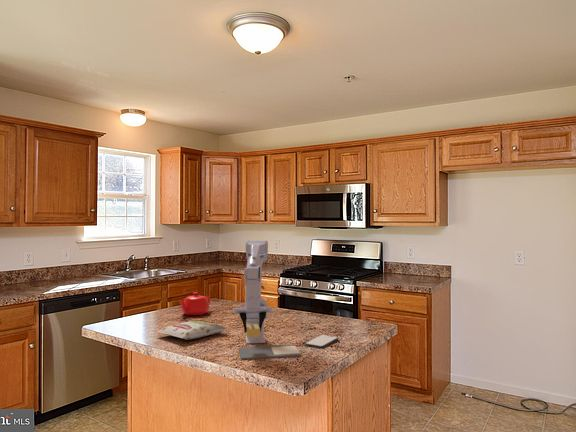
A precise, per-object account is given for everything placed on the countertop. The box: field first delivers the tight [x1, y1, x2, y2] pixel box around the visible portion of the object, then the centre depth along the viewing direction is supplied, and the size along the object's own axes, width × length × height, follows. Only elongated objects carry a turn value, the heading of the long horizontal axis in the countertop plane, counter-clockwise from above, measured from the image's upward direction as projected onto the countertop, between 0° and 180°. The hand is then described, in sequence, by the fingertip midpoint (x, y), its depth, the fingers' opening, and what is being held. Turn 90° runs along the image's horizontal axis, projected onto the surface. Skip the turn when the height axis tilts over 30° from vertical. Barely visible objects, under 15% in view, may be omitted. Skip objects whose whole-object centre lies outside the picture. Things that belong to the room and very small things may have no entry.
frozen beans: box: [156, 320, 229, 341], centre depth 192 cm, size 21×6×25 cm
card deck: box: [245, 324, 260, 337], centre depth 165 cm, size 8×5×3 cm, turn 10°
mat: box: [238, 344, 302, 361], centre depth 166 cm, size 14×23×1 cm, turn 100°
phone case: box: [304, 334, 339, 349], centre depth 181 cm, size 9×2×16 cm
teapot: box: [178, 291, 211, 316], centre depth 237 cm, size 25×16×12 cm, turn 149°
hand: (252, 331), depth 165 cm, fingers closed on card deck, 5 cm apart
